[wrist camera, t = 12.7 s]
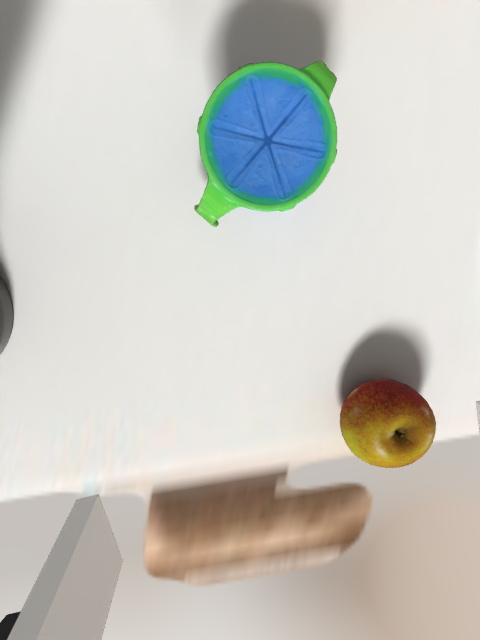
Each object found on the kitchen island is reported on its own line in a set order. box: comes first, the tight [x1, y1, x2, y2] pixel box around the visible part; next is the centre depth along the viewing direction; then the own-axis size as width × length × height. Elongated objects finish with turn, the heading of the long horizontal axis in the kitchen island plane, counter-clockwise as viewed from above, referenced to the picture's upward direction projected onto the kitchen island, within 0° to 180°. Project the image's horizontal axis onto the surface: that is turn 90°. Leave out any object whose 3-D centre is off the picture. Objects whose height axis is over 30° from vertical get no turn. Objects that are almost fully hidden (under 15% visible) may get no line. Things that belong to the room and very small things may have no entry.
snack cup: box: [194, 61, 337, 227], centre depth 37 cm, size 16×10×10 cm
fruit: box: [340, 379, 436, 468], centre depth 45 cm, size 10×9×8 cm
